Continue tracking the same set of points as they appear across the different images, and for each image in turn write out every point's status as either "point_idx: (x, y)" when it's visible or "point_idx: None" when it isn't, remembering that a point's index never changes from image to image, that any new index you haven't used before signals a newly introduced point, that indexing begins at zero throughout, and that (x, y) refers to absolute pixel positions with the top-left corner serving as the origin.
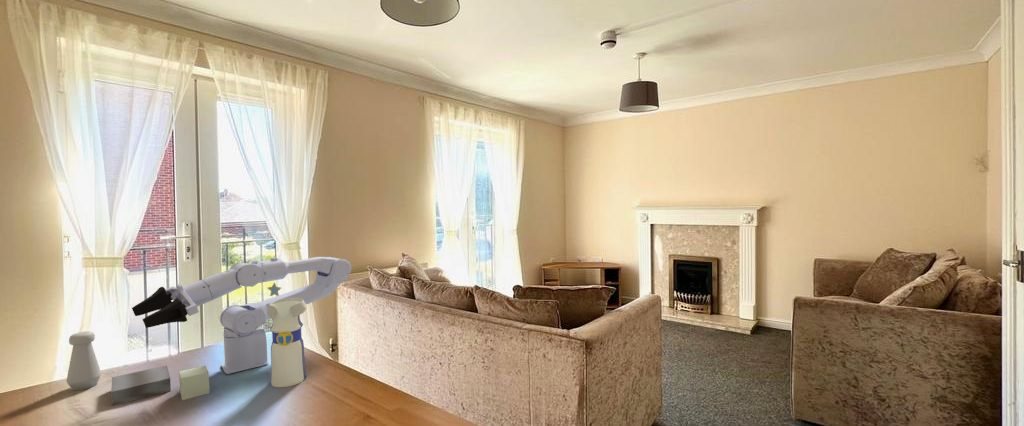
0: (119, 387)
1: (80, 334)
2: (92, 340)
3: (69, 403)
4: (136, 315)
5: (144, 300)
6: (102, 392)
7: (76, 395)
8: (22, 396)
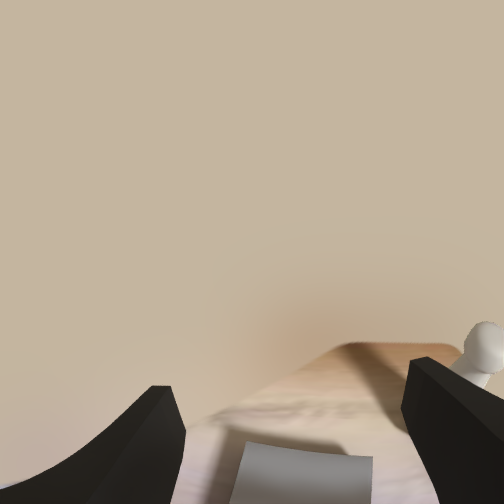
0: (263, 459)
1: (484, 332)
2: (480, 369)
3: (340, 404)
4: (401, 409)
5: (481, 392)
6: (360, 452)
7: (380, 414)
8: (433, 354)
